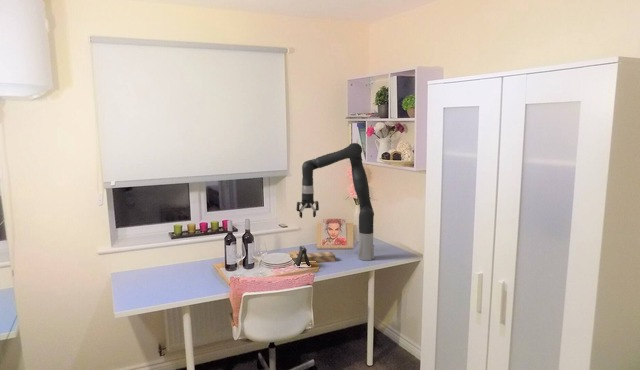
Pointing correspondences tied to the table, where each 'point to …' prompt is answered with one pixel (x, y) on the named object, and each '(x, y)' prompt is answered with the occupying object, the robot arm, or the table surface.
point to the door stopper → (299, 257)
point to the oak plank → (316, 257)
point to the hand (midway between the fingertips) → (307, 217)
